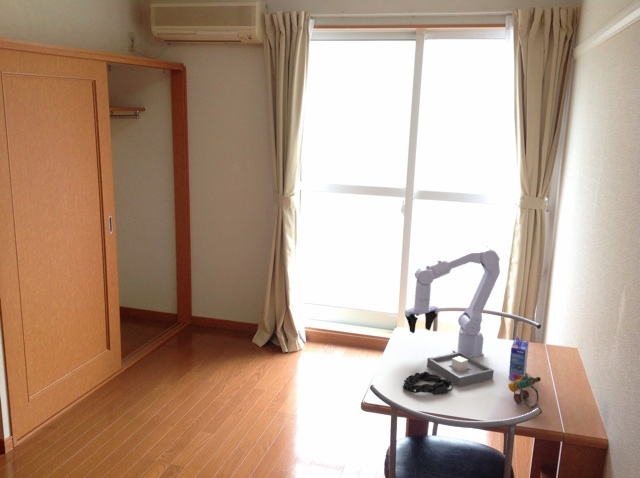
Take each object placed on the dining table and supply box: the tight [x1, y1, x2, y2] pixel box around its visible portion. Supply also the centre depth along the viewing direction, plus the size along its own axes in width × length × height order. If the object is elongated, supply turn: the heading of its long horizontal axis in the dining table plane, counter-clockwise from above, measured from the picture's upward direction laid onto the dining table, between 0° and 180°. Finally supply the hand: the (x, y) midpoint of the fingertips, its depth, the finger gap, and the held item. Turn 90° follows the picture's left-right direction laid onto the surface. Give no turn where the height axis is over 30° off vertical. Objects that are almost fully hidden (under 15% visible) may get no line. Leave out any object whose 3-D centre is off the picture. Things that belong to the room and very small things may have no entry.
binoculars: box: [507, 375, 542, 408], centre depth 189 cm, size 9×9×10 cm
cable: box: [402, 371, 454, 396], centre depth 199 cm, size 17×14×4 cm
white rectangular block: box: [452, 356, 468, 372], centre depth 211 cm, size 4×4×6 cm
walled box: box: [426, 352, 495, 388], centre depth 211 cm, size 16×18×4 cm
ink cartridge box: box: [508, 336, 530, 381], centre depth 210 cm, size 10×6×14 cm, turn 155°
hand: (419, 330), depth 226 cm, fingers open, 7 cm apart
